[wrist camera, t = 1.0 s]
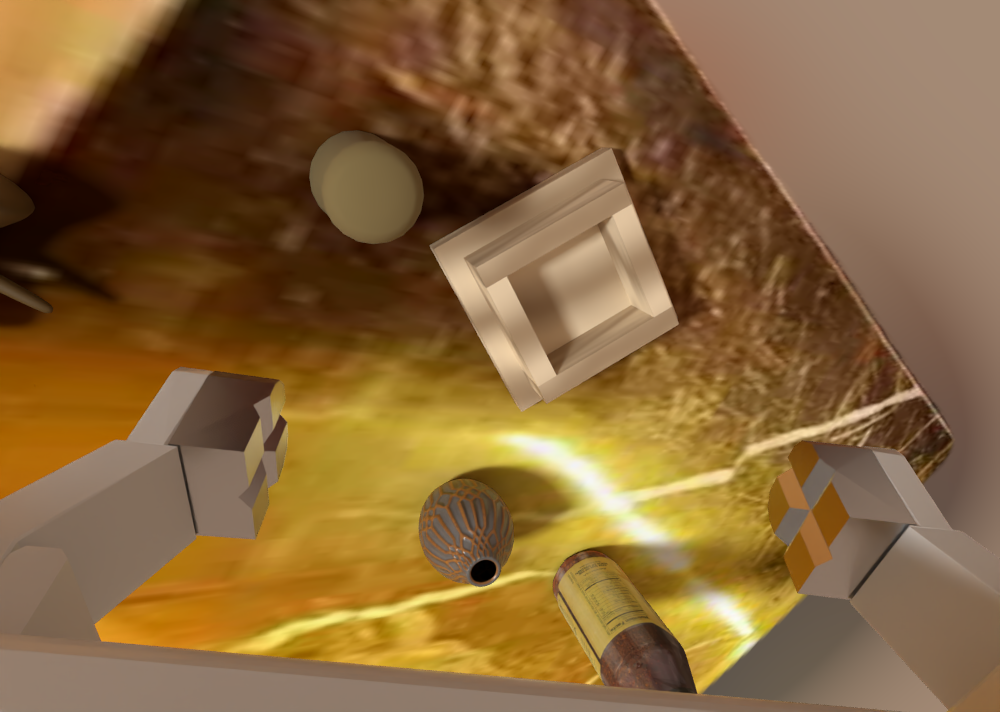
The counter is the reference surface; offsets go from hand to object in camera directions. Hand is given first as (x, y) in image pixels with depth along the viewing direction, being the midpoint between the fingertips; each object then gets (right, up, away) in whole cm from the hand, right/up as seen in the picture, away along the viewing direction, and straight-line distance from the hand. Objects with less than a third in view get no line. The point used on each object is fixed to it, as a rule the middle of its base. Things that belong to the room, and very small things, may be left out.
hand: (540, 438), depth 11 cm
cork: (-10, +13, +33) cm, 36 cm away
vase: (-4, -10, +42) cm, 44 cm away
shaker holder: (+4, +7, +38) cm, 39 cm away
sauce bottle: (+7, -18, +48) cm, 52 cm away
